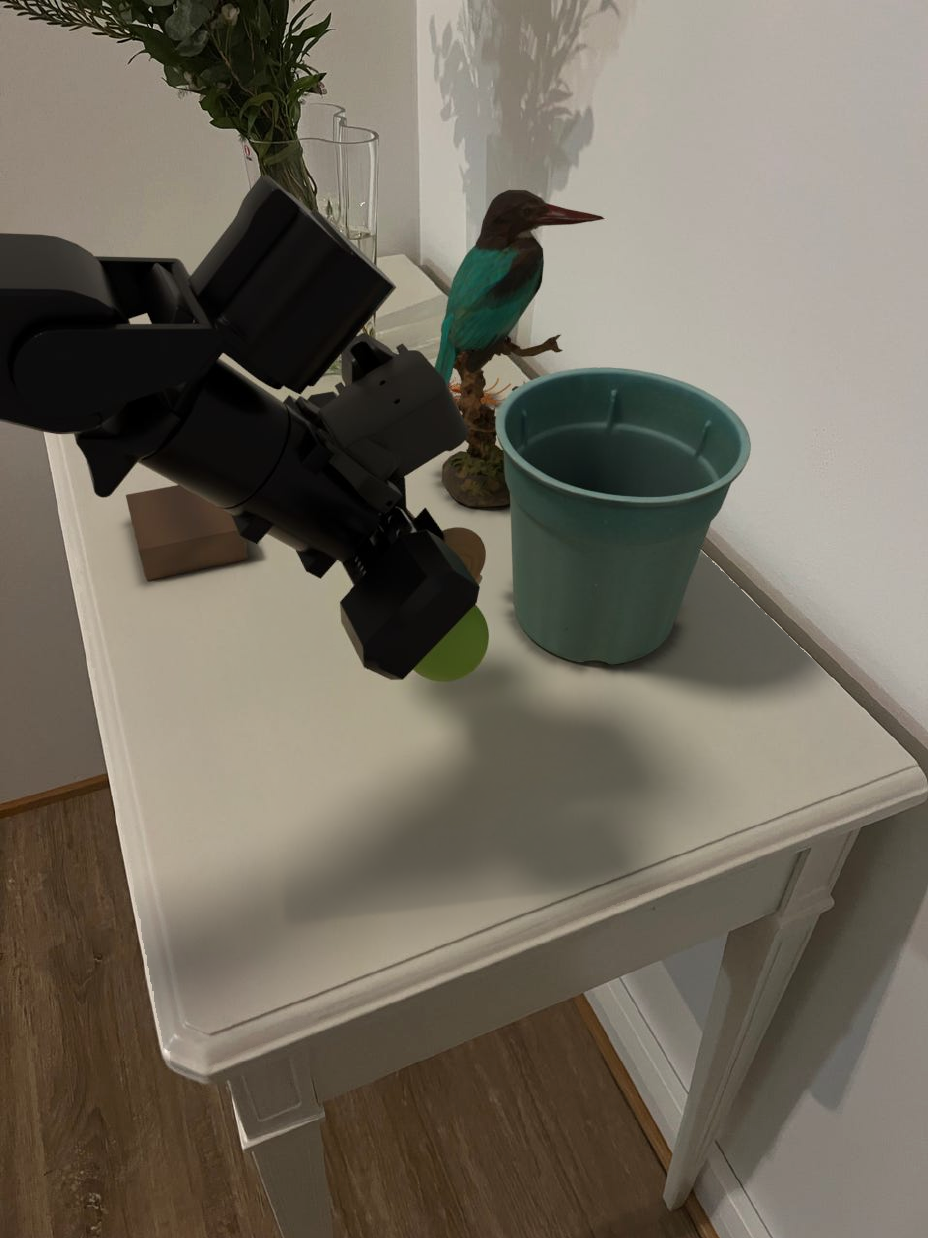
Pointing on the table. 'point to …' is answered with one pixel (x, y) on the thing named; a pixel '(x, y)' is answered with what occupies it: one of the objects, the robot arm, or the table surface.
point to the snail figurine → (471, 632)
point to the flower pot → (611, 503)
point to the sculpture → (492, 330)
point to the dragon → (457, 390)
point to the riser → (182, 532)
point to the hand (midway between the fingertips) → (459, 583)
